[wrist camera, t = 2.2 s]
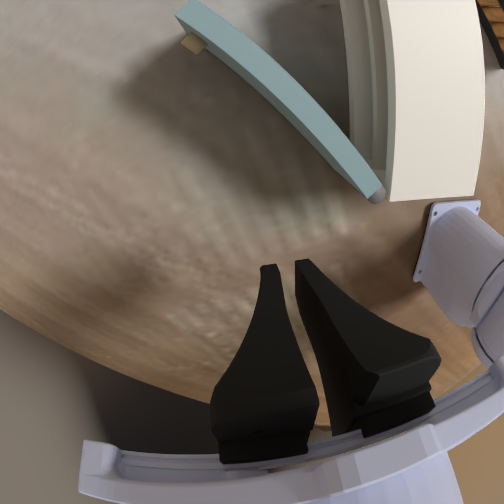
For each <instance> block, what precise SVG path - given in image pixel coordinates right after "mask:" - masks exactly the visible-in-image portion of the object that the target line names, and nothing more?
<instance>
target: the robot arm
mask: <svg viewBox="0 0 504 504" xmlns="http://www.w3.org/2000/svg"><path fill="white" fill-rule="evenodd" d="M480 205H481V202H480V201H479V200H478V199H476V200H462V201H449V202H437V203H433V204H432V206H431V209H430V214H429V218H428V223H427V227H426V232H425V236H424V240H423V244H422V248H421V252H420V255H419V259H418V262H417V266H416V269H415V273H414V276H413V280H414V282H419V281H421V282H422V284H423V285H424V286H425V287H426V289H427V290H428V291H429V293H430V294H431V296H432V297H433V298H434V300H435V301H436V302H437V304H438V305H439V307H440V308H441V309H442V311H443V312H444V314H445V315H446V316H447V317H448V318H449V319H450V320H451V321H452V322H454V323H456V324H457V325H459V326H462V327H473V326H474V327H473V328H472V331H471V338H472V344H473V348H474V351H475V353H476V355H477V357H478V358H479V360H480V361H481V362H482V364H483V365H484V366H485V367H486V368H488V370H487V371H485V372H484V373H482V374H481V375H479V376H477V377H476V378H474V379H472V380H471V381H469V382H467V383H465V384H464V385H462V386H460V387H458V388H456V389H455V390H453V391H451V392H449V393H447V394H445V395H443V396H441V397H439V398H437V399H435V400H433V399H432V397H431V394H430V392H429V391H430V390H431V385H430V383H429V380H430V379H431V377H432V376H433V375H434V373H435V372H436V370H437V369H438V367H439V366H440V363H441V357H440V356H439V354H438V352H437V350H436V348H435V346H434V345H433V343H432V342H431V341H430V339H428V338H425V337H422V336H419V335H417V334H414V333H411V332H409V331H406V330H404V329H402V328H400V327H397V326H395V325H393V324H391V323H389V322H387V321H386V320H384V319H382V318H380V317H378V316H377V315H375V314H373V313H372V312H370V311H369V310H367V309H366V308H364V307H363V306H361V305H360V304H358V303H357V302H356V301H354V300H353V299H352V298H350V297H349V296H348V295H347V294H345V293H344V292H343V291H342V290H341V289H340V288H338V287H337V286H336V285H335V284H334V283H333V282H332V281H331V280H330V279H329V278H328V277H327V276H326V275H325V274H323V273H322V272H321V271H320V270H319V269H318V268H317V266H316V265H315V264H314V263H313V262H312V261H311V260H309V259H303V260H296V261H295V296H296V300H297V304H298V308H299V312H300V316H301V318H302V321H303V324H304V326H305V329H306V332H307V334H308V337H309V339H310V342H311V345H312V347H313V350H314V353H315V356H316V359H317V362H318V366H319V371H320V375H321V379H322V383H323V388H324V392H325V397H326V402H327V407H328V412H329V418H330V424H331V430H332V436H333V437H330V438H326V439H322V440H317V441H313V442H308V438H309V434H310V431H311V430H312V429H313V426H314V422H315V419H316V415H317V412H318V408H319V398H318V395H317V391H316V387H315V385H314V383H313V381H312V378H311V376H310V374H309V371H308V369H307V367H306V364H305V362H304V359H303V357H302V354H301V351H300V349H299V346H298V343H297V341H296V338H295V335H294V332H293V329H292V326H291V323H290V320H289V317H288V314H287V310H286V305H285V299H284V293H283V287H282V281H281V275H280V272H279V269H278V267H277V264H270V265H263V266H261V267H260V274H261V280H260V288H259V294H258V299H257V303H256V307H255V310H254V314H253V317H252V320H251V323H250V325H249V328H248V330H247V333H246V335H245V337H244V340H243V342H242V344H241V346H240V348H239V350H238V352H237V354H236V355H235V357H234V359H233V360H232V362H231V364H230V366H229V367H228V369H227V370H226V372H225V373H224V375H223V376H222V377H221V379H220V380H219V382H218V383H217V384H216V386H215V387H214V391H213V394H212V397H211V401H210V406H209V413H208V422H209V430H210V432H211V433H212V435H213V436H214V437H215V438H216V439H217V441H218V445H219V454H211V455H171V454H152V453H140V452H131V451H122V450H120V449H119V448H117V447H116V446H114V445H111V444H107V443H103V442H97V441H91V440H84V443H83V450H82V457H81V465H80V475H79V486H78V487H79V488H78V491H79V492H80V493H82V494H86V495H89V496H93V497H96V498H99V499H103V500H107V501H111V502H115V503H119V504H464V503H463V500H462V496H461V493H460V490H459V486H458V483H457V480H456V477H455V474H454V471H453V468H452V465H451V462H450V459H449V456H448V454H447V451H449V450H451V449H452V448H454V447H456V446H457V445H459V444H460V443H462V442H463V441H465V440H467V439H468V438H470V437H471V436H473V435H474V434H475V433H477V432H478V431H480V430H481V429H482V428H484V427H485V426H487V425H488V424H489V423H491V422H492V421H494V420H495V419H496V418H497V417H499V416H500V415H501V414H502V413H504V238H503V237H502V236H501V235H500V234H499V233H497V232H496V231H495V230H494V229H493V228H492V227H490V226H489V225H488V224H487V223H486V222H484V221H483V220H482V219H481V218H480V217H478V213H479V209H480ZM434 212H435V213H434ZM405 431H406V432H405ZM402 432H404V433H402ZM400 433H402V434H400ZM398 434H399V435H398ZM395 435H397V436H395ZM393 436H394V437H393ZM390 437H392V438H390ZM388 438H390V439H388ZM385 439H387V440H385ZM382 440H384V441H382ZM379 441H382V442H379ZM307 442H308V443H307ZM377 442H379V443H377ZM374 443H376V444H374ZM371 444H373V445H371ZM368 445H370V446H368ZM365 446H367V447H365ZM362 447H364V448H362ZM359 448H361V449H359ZM356 449H358V450H356ZM352 450H355V451H352ZM349 451H351V452H349ZM346 452H348V453H346ZM342 453H345V454H342ZM338 454H342V455H339V456H336V457H334V458H331V459H328V460H326V461H323V462H319V463H316V464H312V465H308V466H304V467H300V468H296V469H292V470H287V471H283V472H277V473H272V474H268V471H267V470H261V469H268V468H275V467H282V466H289V465H294V464H300V463H305V462H309V461H314V460H318V459H323V458H326V457H331V456H334V455H338Z"/></svg>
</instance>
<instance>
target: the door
mask: <svg viewBox="0 0 504 504" xmlns="http://www.w3.org/2000/svg"><path fill="white" fill-rule="evenodd" d="M174 16H175V17H176V18H177V20H178V21H179V23H180V24H181V26H182V27H183V29H184V30H185V31H186V33H187V34H188V35H187V36H186V37H185V38H184V39H183V40H182V41H181V42H180V43H181V44H183V45H184V46H185V47H187V48H188V49H189V50H191V51H192V52H193V53H195V54H196V55H198V54H199V53H200V52H201V51H202V50H203V49H204V48H206V49H207V50H209V51H210V52H211V53H213V54H214V55H215V56H216V57H218V58H219V59H220V60H221V61H223V62H224V63H225V64H226V65H228V66H229V67H230V68H231V69H232V70H234V71H235V72H236V73H237V74H238V75H240V76H241V77H242V78H243V79H244V80H245V81H247V82H248V83H249V84H250V85H251V86H252V87H253V88H254V89H256V90H257V91H258V92H259V93H260V94H261V95H262V96H263V97H264V98H265V99H267V100H268V101H269V102H270V103H271V104H272V105H273V106H274V107H275V108H276V109H277V110H278V111H279V112H280V113H281V114H282V115H283V116H284V117H285V118H286V119H287V120H288V121H289V122H290V123H291V124H292V125H293V126H294V127H295V128H296V129H297V130H298V131H299V132H300V133H301V134H302V135H303V136H304V137H305V138H306V139H307V140H308V141H309V142H310V143H311V144H312V145H313V147H314V148H315V149H316V150H317V151H318V152H319V153H320V154H321V155H322V156H323V157H324V159H325V160H326V161H327V162H328V163H329V164H330V165H331V167H332V168H333V169H334V170H335V171H336V172H337V173H339V174H340V175H341V176H342V177H343V178H344V179H345V180H347V181H348V182H349V183H350V184H351V185H352V186H353V187H354V188H356V189H357V190H358V191H359V192H360V193H361V194H362V195H363V196H364V197H365V198H366V199H368V200H369V201H370V202H371V203H373V204H378V203H380V202H381V201H382V200H383V199H384V197H385V194H386V191H385V188H384V187H383V186H382V184H381V182H380V181H379V179H378V178H377V176H376V175H375V174H374V172H373V171H372V169H371V168H370V167H369V165H368V164H367V163H366V161H365V160H364V159H363V157H362V156H361V155H360V153H359V152H358V151H357V149H356V148H355V147H354V146H353V144H352V143H351V142H350V141H349V139H348V138H347V137H346V136H345V134H344V133H343V132H342V131H341V130H340V128H339V127H338V126H337V125H336V124H335V123H334V121H333V120H332V119H331V118H330V117H329V116H328V114H327V113H326V112H325V111H324V110H323V109H322V108H321V107H320V105H319V104H318V103H317V102H316V101H315V100H314V99H313V98H312V97H311V96H310V95H309V94H308V93H307V92H306V91H305V90H304V88H303V87H302V86H301V85H300V84H299V83H298V82H297V81H296V80H295V79H294V78H293V77H292V76H291V75H290V74H289V73H287V72H286V71H285V70H284V69H283V68H282V67H281V66H280V65H279V64H278V63H277V62H276V61H275V60H274V59H273V58H271V57H270V56H269V55H268V54H267V53H266V52H265V51H264V50H262V49H261V48H260V47H259V46H258V45H257V44H255V43H254V42H253V41H252V40H251V39H249V38H248V37H247V36H246V35H245V34H243V33H242V32H241V31H240V30H238V29H237V28H236V27H234V26H233V25H232V24H231V23H229V22H228V21H227V20H225V19H224V18H223V17H221V16H220V15H218V14H217V13H216V12H214V11H213V10H211V9H210V8H208V7H207V6H206V5H204V4H203V3H201V2H200V1H198V0H189V1H188V2H187V3H186V4H185V5H184V6H183V7H182V8H181V9H179V10H178V11H177V12H176V13H175V14H174Z"/></svg>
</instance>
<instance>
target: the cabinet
mask: <svg viewBox="0 0 504 504" xmlns="http://www.w3.org/2000/svg"><path fill="white" fill-rule="evenodd" d="M339 1H340V7H341V14H342V21H343V29H344V38H345V47H346V58H347V71H348V88H349V114H350V142H351V143H352V144H353V146H354V147H355V148H356V149H357V151H358V152H359V153H360V155H361V156H362V157H363V159H364V160H365V161H366V163H367V164H368V165H369V167H370V168H371V169H372V171H373V172H374V174H375V175H376V176H377V178H378V179H379V181H380V182H381V184H382V186H383V187H384V188H385V191H386V194H385V198H386V199H387V200H388V201H389V202H393V201H405V200H416V199H429V198H443V197H458V196H473V195H474V190H475V185H476V180H477V175H478V169H479V162H480V155H481V148H482V139H483V128H484V112H485V70H484V55H483V44H482V36H481V29H480V23H479V17H478V11H477V7H476V2H475V0H339Z"/></svg>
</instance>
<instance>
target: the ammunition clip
mask: <svg viewBox="0 0 504 504" xmlns="http://www.w3.org/2000/svg"><path fill="white" fill-rule="evenodd" d="M475 2H476V7H477V11H478V17H479V20H480V22H481V24H482V26H483V28H484V30H485V32H486V34H487V36H488V38H489V41H490V43H491V45H492V47H493V50H494V52H495V54H496V57H497V59H498V62H499V64H500V67H501V69H504V0H475ZM489 6H501V7H489Z"/></svg>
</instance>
